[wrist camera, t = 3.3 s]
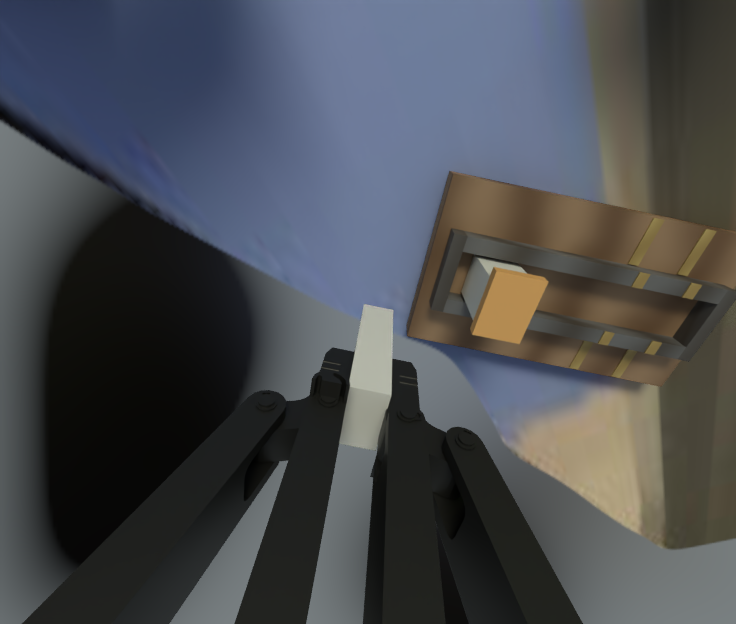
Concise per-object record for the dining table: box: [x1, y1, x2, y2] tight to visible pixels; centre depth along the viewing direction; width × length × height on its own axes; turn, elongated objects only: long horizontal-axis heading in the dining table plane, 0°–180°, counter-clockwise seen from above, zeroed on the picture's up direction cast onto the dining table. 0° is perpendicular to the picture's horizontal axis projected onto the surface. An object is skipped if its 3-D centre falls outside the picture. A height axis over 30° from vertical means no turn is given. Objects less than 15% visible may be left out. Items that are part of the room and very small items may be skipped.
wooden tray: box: [407, 171, 736, 387], centre depth 29 cm, size 24×14×4 cm, turn 79°
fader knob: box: [461, 254, 548, 344], centre depth 26 cm, size 3×5×6 cm
